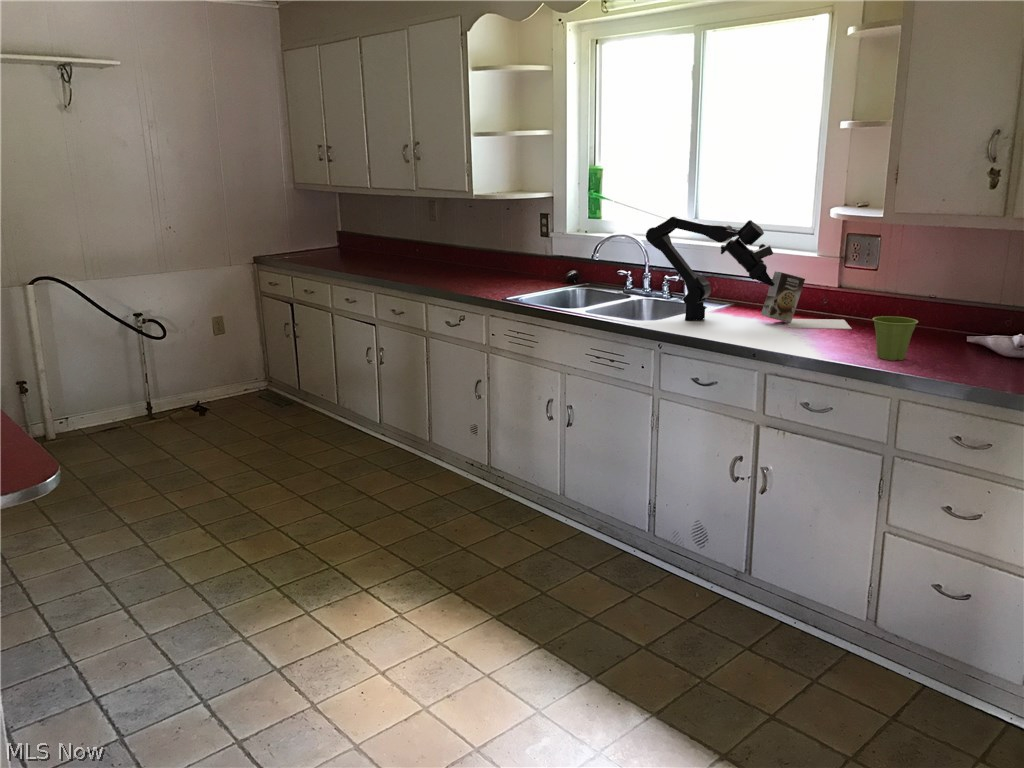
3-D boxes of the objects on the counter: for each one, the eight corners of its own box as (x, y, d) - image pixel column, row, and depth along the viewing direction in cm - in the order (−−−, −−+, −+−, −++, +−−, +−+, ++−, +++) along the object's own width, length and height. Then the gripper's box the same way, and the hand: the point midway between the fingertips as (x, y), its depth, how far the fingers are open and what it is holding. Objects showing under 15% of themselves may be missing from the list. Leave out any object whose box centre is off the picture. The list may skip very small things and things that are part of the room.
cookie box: (769, 318, 282) (783, 272, 279) (760, 315, 288) (773, 270, 285) (791, 323, 285) (806, 278, 281) (782, 320, 291) (796, 276, 287)
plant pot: (917, 363, 227) (922, 324, 224) (871, 362, 230) (875, 322, 227) (909, 354, 238) (914, 316, 235) (866, 352, 241) (869, 315, 238)
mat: (789, 328, 278) (789, 327, 278) (784, 319, 294) (785, 318, 293) (851, 329, 274) (851, 328, 274) (843, 320, 289) (843, 319, 289)
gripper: (761, 239, 272) (794, 272, 272) (757, 234, 289) (788, 265, 290) (735, 263, 276) (768, 295, 276) (734, 257, 293) (764, 287, 293)
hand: (773, 285), depth 284 cm, fingers closed
